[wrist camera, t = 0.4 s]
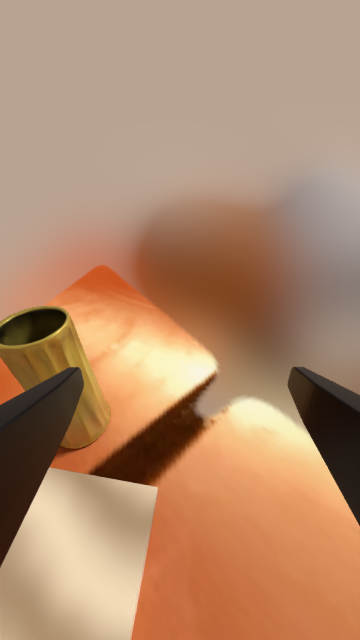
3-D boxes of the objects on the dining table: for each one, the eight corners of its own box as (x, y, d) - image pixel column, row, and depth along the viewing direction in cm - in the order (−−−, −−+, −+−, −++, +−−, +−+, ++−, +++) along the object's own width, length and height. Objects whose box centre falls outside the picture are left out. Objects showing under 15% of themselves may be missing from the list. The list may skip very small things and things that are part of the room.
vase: (59, 404, 25) (0, 308, 17) (110, 392, 27) (79, 298, 18) (49, 457, 21) (-40, 362, 12) (111, 439, 22) (70, 342, 14)
